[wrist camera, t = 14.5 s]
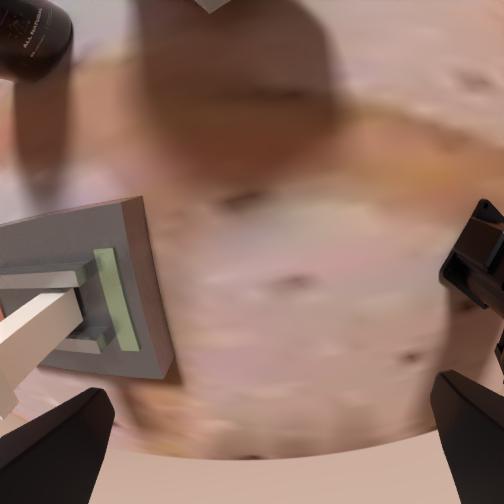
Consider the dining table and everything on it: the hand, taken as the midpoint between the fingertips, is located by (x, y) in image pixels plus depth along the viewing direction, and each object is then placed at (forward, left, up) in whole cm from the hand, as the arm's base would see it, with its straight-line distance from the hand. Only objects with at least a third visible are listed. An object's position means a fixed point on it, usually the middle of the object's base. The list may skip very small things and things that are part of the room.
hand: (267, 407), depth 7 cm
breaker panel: (+13, +11, -13) cm, 21 cm away
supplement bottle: (+24, -6, -13) cm, 28 cm away
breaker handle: (+11, +9, -10) cm, 17 cm away
